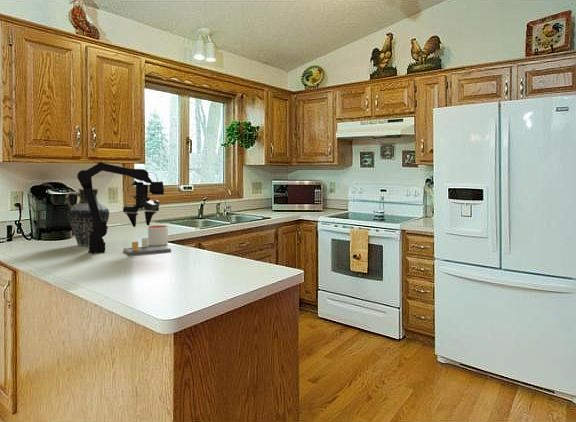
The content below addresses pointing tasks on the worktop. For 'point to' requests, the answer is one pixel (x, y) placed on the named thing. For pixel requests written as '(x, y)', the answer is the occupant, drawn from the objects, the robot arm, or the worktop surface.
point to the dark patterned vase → (83, 216)
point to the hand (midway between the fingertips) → (141, 226)
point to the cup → (157, 235)
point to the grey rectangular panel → (147, 250)
